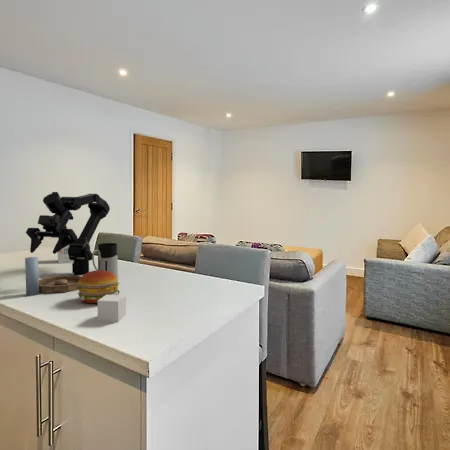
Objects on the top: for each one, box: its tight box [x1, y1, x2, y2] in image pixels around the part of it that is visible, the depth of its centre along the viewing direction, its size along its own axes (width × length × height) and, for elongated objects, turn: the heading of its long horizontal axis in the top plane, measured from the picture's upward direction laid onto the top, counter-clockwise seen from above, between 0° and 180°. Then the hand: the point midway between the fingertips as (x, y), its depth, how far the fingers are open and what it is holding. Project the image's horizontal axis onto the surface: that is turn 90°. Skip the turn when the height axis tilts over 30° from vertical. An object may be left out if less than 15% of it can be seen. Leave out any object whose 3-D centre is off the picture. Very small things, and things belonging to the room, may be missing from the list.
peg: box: [24, 256, 40, 297], centre depth 122 cm, size 4×4×13 cm
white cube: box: [97, 294, 127, 323], centre depth 100 cm, size 6×6×6 cm
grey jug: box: [91, 242, 120, 280], centre depth 142 cm, size 9×14×15 cm, turn 164°
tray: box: [39, 274, 82, 294], centre depth 133 cm, size 17×17×2 cm
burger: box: [77, 269, 121, 304], centre depth 117 cm, size 14×14×10 cm
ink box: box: [57, 245, 74, 264], centre depth 183 cm, size 9×8×12 cm
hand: (42, 252), depth 130 cm, fingers open, 9 cm apart
